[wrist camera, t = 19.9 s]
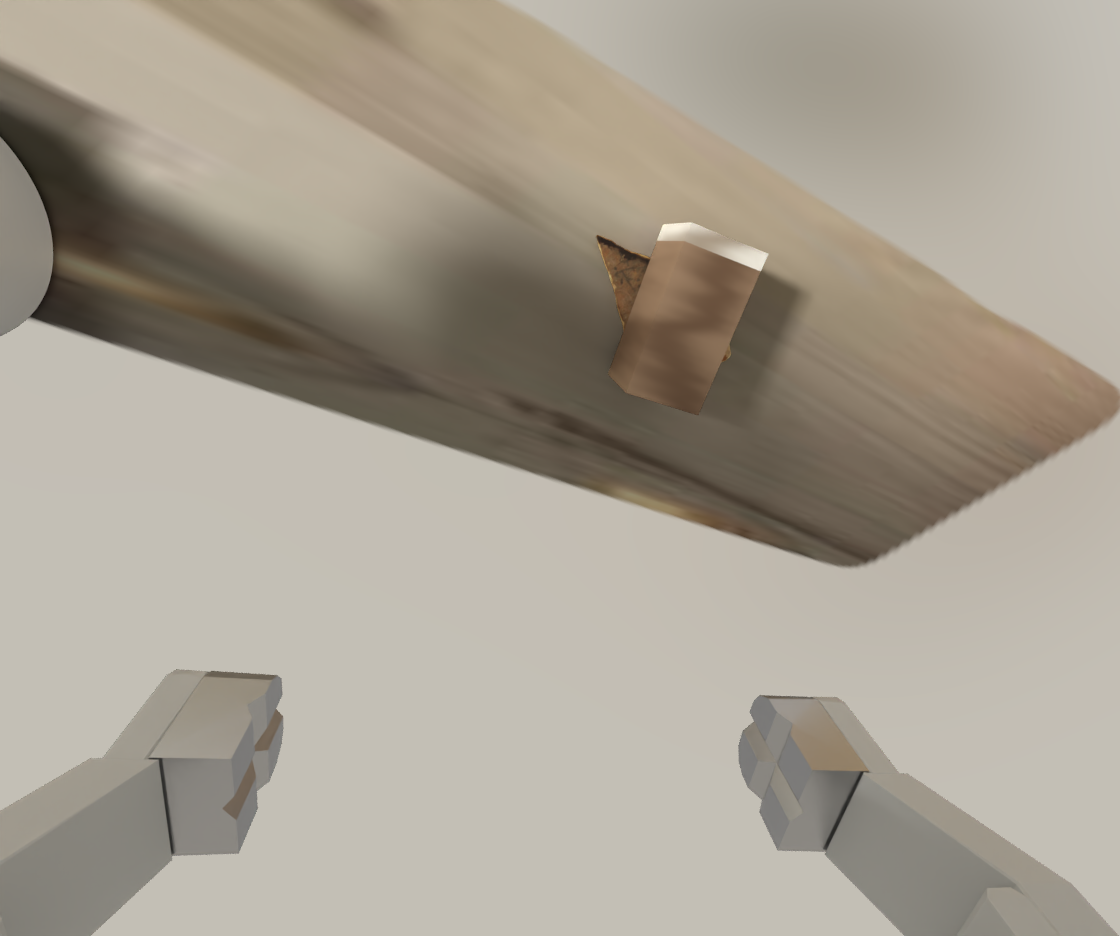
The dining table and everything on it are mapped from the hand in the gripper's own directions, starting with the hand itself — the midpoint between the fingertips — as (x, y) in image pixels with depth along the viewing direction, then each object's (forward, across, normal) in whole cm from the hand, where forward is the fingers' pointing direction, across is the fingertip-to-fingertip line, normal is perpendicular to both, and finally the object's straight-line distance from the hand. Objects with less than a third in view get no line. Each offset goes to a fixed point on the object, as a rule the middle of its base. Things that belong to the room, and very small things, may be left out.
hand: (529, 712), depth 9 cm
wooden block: (+27, -10, 0) cm, 29 cm away
